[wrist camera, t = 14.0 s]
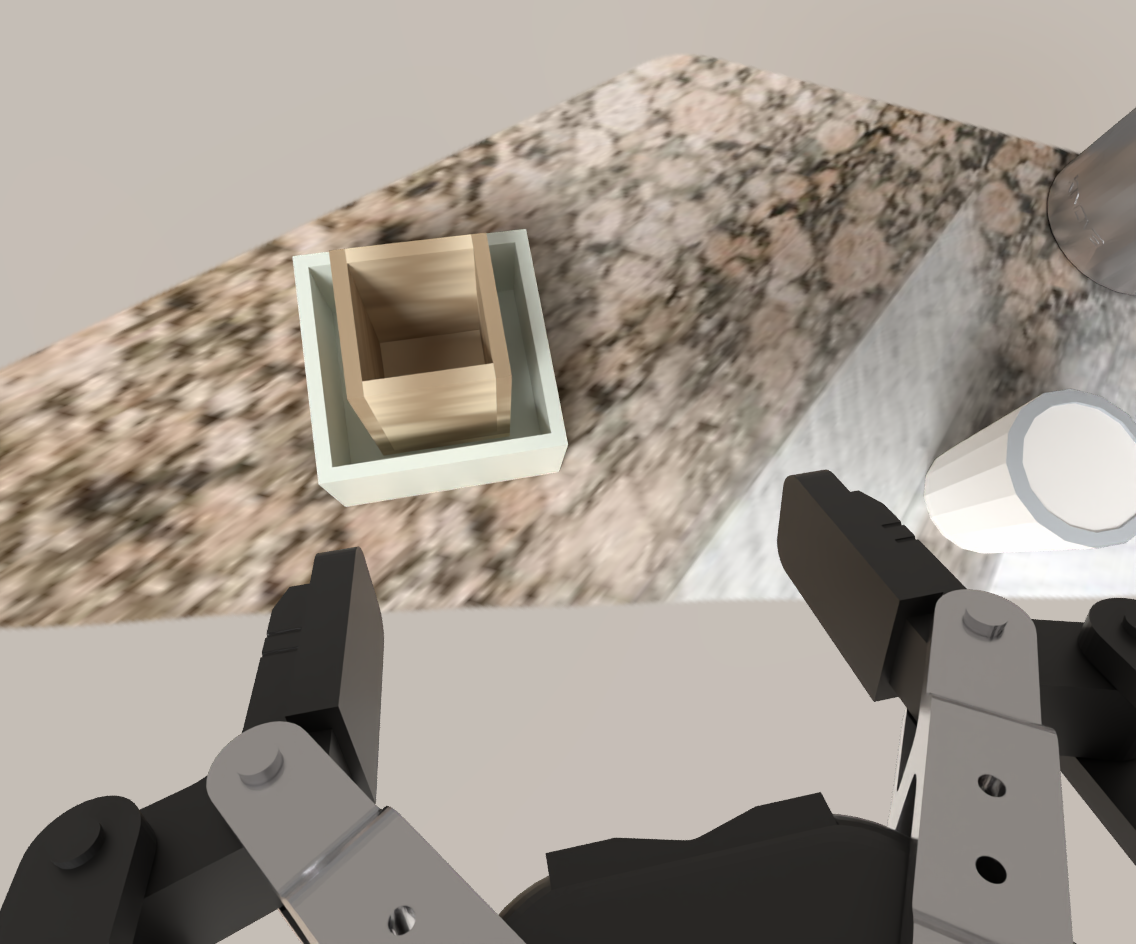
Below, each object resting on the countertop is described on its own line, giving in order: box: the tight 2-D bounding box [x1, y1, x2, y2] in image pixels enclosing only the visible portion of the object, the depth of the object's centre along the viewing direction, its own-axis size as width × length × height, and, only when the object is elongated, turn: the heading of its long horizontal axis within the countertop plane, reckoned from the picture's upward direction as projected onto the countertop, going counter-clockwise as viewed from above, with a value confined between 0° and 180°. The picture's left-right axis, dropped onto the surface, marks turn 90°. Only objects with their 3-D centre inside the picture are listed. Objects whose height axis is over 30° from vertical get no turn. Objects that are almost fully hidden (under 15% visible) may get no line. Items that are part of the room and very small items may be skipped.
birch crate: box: [329, 233, 512, 455], centre depth 30 cm, size 6×6×8 cm
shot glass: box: [924, 389, 1136, 553], centre depth 33 cm, size 7×7×7 cm
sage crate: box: [293, 229, 568, 507], centre depth 32 cm, size 10×10×5 cm
